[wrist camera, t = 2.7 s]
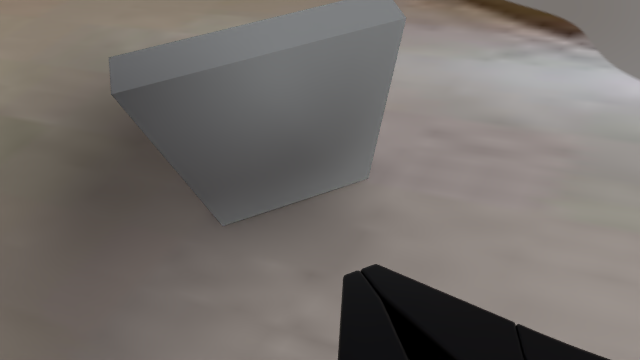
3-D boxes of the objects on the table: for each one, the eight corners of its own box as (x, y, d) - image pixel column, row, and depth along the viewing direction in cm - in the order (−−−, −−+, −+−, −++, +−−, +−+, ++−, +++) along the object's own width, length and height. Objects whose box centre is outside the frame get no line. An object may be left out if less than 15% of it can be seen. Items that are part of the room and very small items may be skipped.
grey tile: (368, 178, 22) (406, 18, 11) (222, 226, 21) (111, 94, 10) (356, 154, 23) (382, -15, 12) (216, 199, 22) (108, 51, 11)
